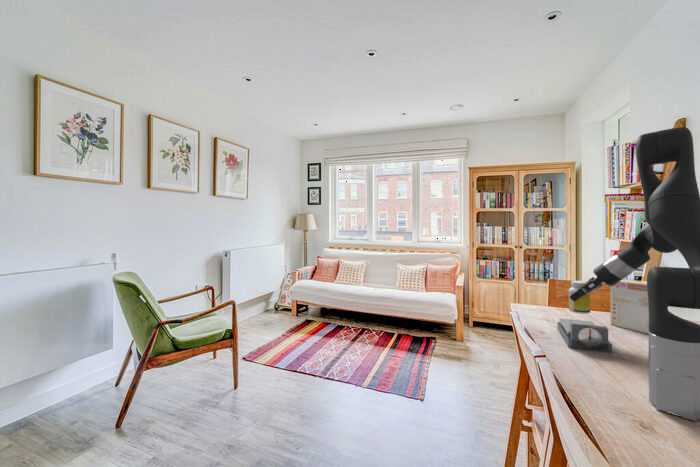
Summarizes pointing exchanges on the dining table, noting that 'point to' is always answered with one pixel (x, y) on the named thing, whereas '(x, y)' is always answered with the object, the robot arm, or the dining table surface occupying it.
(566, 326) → the pan
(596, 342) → the kitchen scale
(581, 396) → the dining table surface
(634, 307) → the coffeecake box
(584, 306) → the pill bottle
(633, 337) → the dining table surface
